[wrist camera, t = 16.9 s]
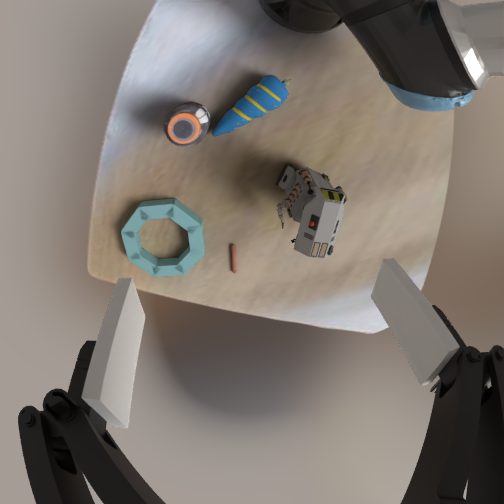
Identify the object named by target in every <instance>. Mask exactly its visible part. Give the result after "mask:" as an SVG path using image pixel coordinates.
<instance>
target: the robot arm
mask: <svg viewBox="0 0 504 504" xmlns="http://www.w3.org/2000/svg"><path fill="white" fill-rule="evenodd" d="M260 3H261V5H262V7H263V8H264V10H265V11H266V13H267V14H268V15H269V16H270V17H271V18H272V19H274V20H275V21H276V22H278V23H279V24H281V25H283V26H284V27H287V28H289V29H291V30H294V31H298V32H303V33H322V32H326V31H329V30H331V29H333V28H336V27H338V26H339V25H341V24H342V23H343V22H344V23H345V24H346V26H347V27H348V28H349V30H350V31H351V32H352V34H353V35H354V36H355V38H356V39H357V40H358V42H359V43H360V44H361V46H362V47H363V48H364V50H365V51H366V53H367V54H368V56H369V57H370V59H371V60H372V61H373V63H374V64H375V66H376V68H377V69H378V71H379V75H380V77H381V78H382V80H383V81H384V82H385V83H386V84H387V85H388V86H389V88H390V89H391V91H392V93H393V94H394V96H395V97H396V98H397V99H398V100H399V101H400V102H402V103H403V104H404V105H406V106H408V107H411V108H413V109H417V110H422V111H433V112H434V111H447V110H452V109H454V106H458V107H462V106H464V105H465V104H467V103H468V102H469V101H470V100H471V99H472V97H473V92H474V90H481V89H483V87H484V86H485V83H486V82H487V80H488V78H490V77H491V76H504V1H501V2H488V3H478V4H471V5H464V6H460V5H457V4H455V3H453V2H451V1H449V0H260ZM371 298H372V299H373V301H374V303H375V304H376V306H377V308H378V309H379V311H380V313H381V314H382V316H383V318H384V319H385V321H386V323H387V324H388V326H389V328H390V329H391V331H392V333H393V335H394V336H395V338H396V340H397V342H398V344H399V345H400V347H401V349H402V351H403V352H404V354H405V356H406V358H407V360H408V362H409V364H410V366H411V367H412V370H413V371H414V373H415V375H416V377H417V379H418V381H419V383H420V385H421V386H423V385H425V384H428V383H430V382H432V381H433V380H434V379H435V378H436V376H437V375H439V377H440V380H439V381H438V382H437V383H436V384H435V385H434V386H433V387H432V388H431V392H432V391H433V390H434V389H435V388H436V387H437V389H436V391H435V393H436V394H435V399H434V404H433V409H432V413H431V417H430V422H429V426H428V429H427V433H426V437H425V440H424V444H423V447H422V450H421V453H420V456H419V459H418V462H417V465H416V468H415V471H414V473H413V476H412V479H411V481H410V484H409V486H408V489H407V491H406V493H405V496H404V498H403V500H402V502H401V504H504V348H502V347H501V346H498V345H496V346H493V347H492V349H491V350H490V351H489V352H482V353H480V352H479V351H478V350H477V349H476V348H474V347H471V346H468V347H467V346H466V345H465V343H464V342H463V340H462V339H461V338H460V336H459V335H458V333H457V331H456V330H455V329H454V327H453V326H451V323H450V322H449V320H447V317H446V316H445V315H444V313H443V312H442V311H441V310H440V309H439V308H437V307H436V306H435V305H432V306H431V304H430V303H429V302H428V300H427V299H426V298H425V296H424V295H423V294H422V293H421V291H420V290H419V289H418V287H417V286H416V285H415V283H414V282H413V281H412V280H411V278H410V277H409V276H408V275H407V273H406V272H405V271H404V270H403V269H402V267H401V266H400V265H399V264H398V263H397V261H396V260H395V259H394V258H391V259H383V262H382V265H381V268H380V271H379V274H378V277H377V280H376V283H375V286H374V289H373V292H372V295H371ZM144 322H145V315H144V311H143V309H142V306H141V303H140V300H139V297H138V294H137V291H136V288H135V285H134V282H133V279H132V278H120V279H118V281H117V284H116V287H115V289H114V292H113V294H112V297H111V300H110V302H109V305H108V308H107V311H106V314H105V317H104V319H103V322H102V325H101V329H100V332H99V335H98V338H97V341H86V343H85V344H84V345H83V346H82V348H81V349H80V352H79V355H78V358H77V362H76V365H75V369H74V372H73V375H72V379H71V382H70V386H69V390H68V393H67V392H66V391H64V390H62V389H54V390H51V391H50V392H49V393H47V394H46V396H45V398H44V402H43V409H44V411H39V410H37V409H36V408H35V407H33V406H26V407H24V408H23V409H22V410H21V411H20V413H19V416H18V425H19V432H20V439H21V445H22V451H23V456H24V461H25V465H26V469H27V473H28V477H29V481H30V485H31V488H32V492H33V495H34V498H35V501H36V504H95V503H94V501H93V499H92V496H91V494H90V491H89V489H88V486H87V484H86V481H85V478H84V476H83V474H84V475H85V477H86V478H87V480H88V482H89V483H90V485H91V486H92V488H93V489H94V491H95V492H96V494H97V495H98V496H99V498H100V499H101V501H102V502H103V503H104V504H165V503H164V502H163V501H162V499H161V498H160V497H159V496H158V495H157V494H156V493H155V492H154V491H153V490H152V488H151V487H150V486H149V485H148V484H147V483H146V482H145V480H144V479H143V478H142V477H141V476H140V474H139V473H138V472H137V471H136V470H135V468H134V467H133V466H132V464H131V463H130V462H129V461H128V459H127V458H126V456H125V455H124V454H123V453H122V451H121V450H120V448H119V447H118V445H117V444H116V443H115V441H114V440H113V438H112V437H111V435H110V434H109V432H108V431H107V430H106V423H109V424H110V425H111V426H112V427H118V428H126V429H128V426H129V416H130V407H131V399H132V391H133V384H134V377H135V371H136V365H137V359H138V353H139V347H140V341H141V337H142V331H143V327H144ZM490 381H491V385H492V386H491V387H490V388H489V389H488V387H487V384H488V383H489V382H490ZM82 472H83V473H82ZM467 480H468V485H467V494H466V500H465V499H464V498H463V494H464V490H465V487H466V483H467Z"/></svg>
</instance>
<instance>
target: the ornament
mask: <svg viewBox="0 0 504 504" xmlns="http://www.w3.org/2000/svg"><path fill="white" fill-rule="evenodd" d="M290 80H291V79H290ZM290 80H288V81H290ZM288 81H287V80H286V79H285V80H284V81H282V82H281V81H280V80H279V79H278V78H277V77H275V76H272V75H267V76H265V77H263V78H262V79H261V80H260V82H259V83H258V85H255V86H253V87H251V88H250V90H249V91H248V92H247V94H246V95H245V97H243V98H241V99H239V100H238V101H237V103H236V104H235V106H234V107H233V108H232V109H230V110H229V111H227V112H226V113H225V114H224V116H223V117H222V119H221V120H220V122H219V123H218V125H217V126H216V128H215V129H214V131H213V132H212V134H213V136H217V135H220V134H224V133H228V132H231V131H234V130H235V129H236V128H238V127H240V126H243V125H245V124H247V123H249V122H250V121H251V120H252V119H254V118H258V117H261V116H263V115H265V114H266V112H267V111H270V110H273V109H276V108H278V107H279V106H280V105H281V104H282V103H283V102H284V101H285V99H286V98H287V96H288V91H287V89H286V88H285V86H286V85H288V84H289V82H288Z"/></svg>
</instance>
